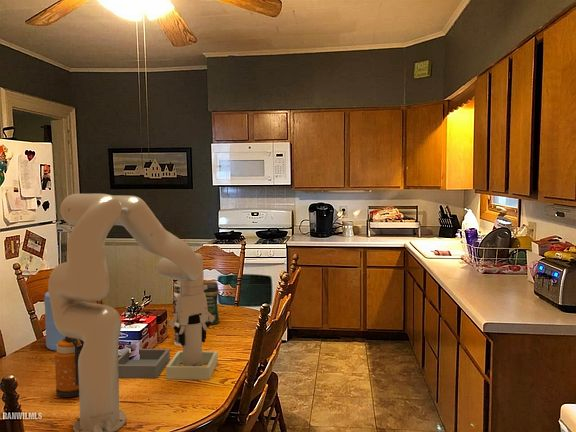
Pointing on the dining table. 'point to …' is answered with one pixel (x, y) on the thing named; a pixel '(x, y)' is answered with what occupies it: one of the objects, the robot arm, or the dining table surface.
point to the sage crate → (192, 367)
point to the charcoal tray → (143, 363)
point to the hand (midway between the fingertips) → (192, 342)
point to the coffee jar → (212, 300)
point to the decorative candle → (177, 291)
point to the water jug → (51, 326)
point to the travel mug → (193, 342)
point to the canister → (67, 366)
